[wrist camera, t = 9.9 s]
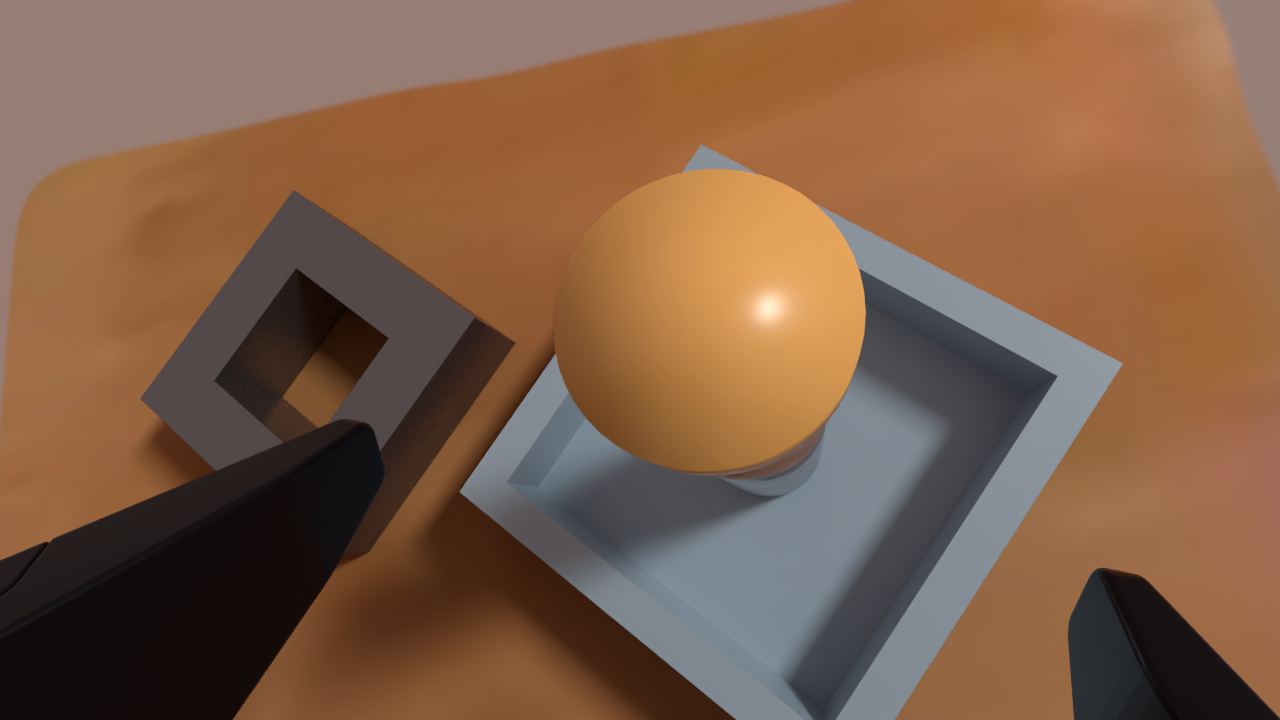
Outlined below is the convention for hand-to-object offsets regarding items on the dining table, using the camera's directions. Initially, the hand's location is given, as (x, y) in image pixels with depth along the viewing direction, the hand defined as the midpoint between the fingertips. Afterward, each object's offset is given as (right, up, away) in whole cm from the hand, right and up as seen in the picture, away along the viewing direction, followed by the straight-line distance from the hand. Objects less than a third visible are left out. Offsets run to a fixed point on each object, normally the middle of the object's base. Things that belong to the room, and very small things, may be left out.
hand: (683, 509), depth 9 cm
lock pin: (+3, -1, +11) cm, 12 cm away
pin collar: (-10, +1, +16) cm, 19 cm away
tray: (+3, -1, +12) cm, 12 cm away
